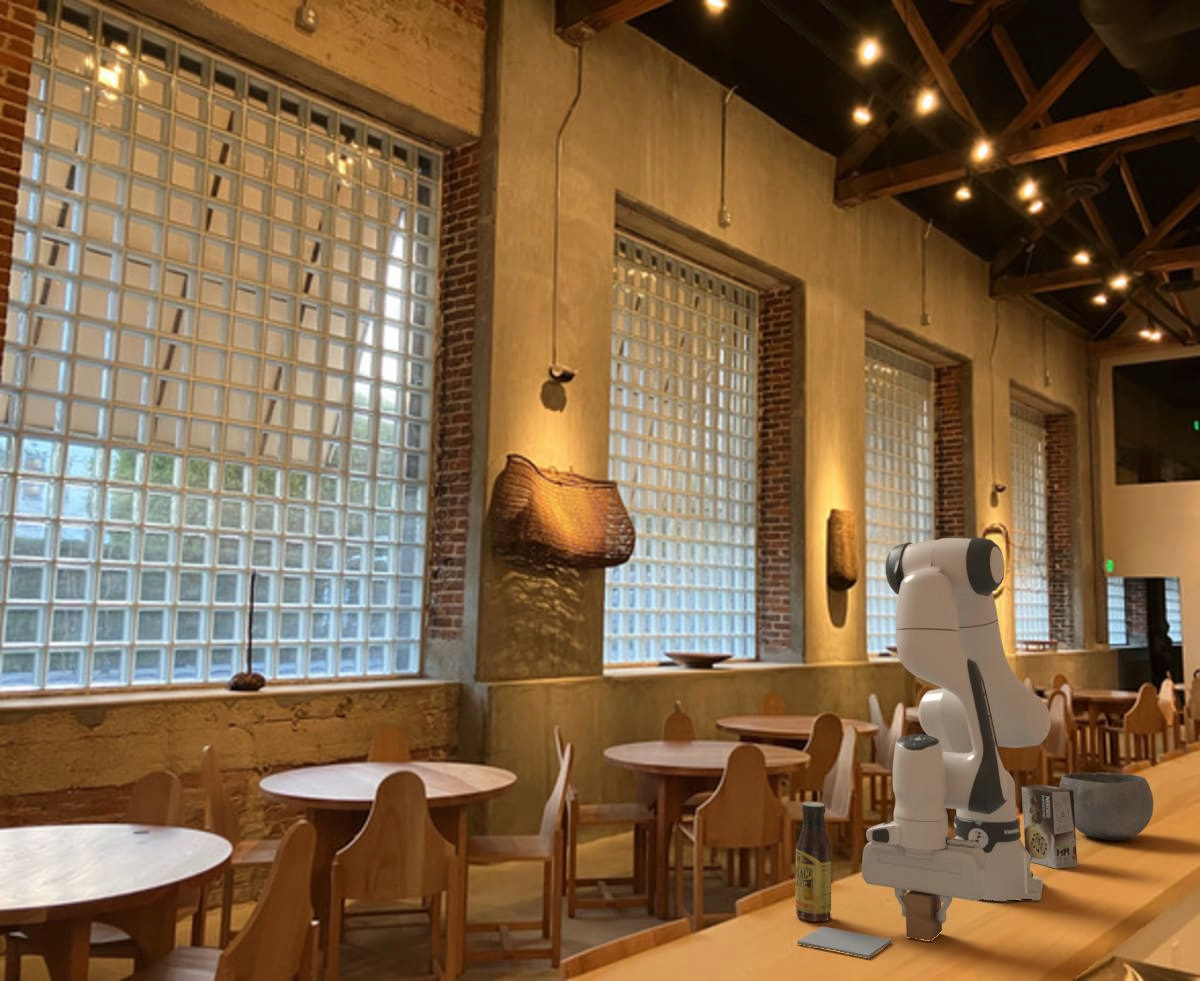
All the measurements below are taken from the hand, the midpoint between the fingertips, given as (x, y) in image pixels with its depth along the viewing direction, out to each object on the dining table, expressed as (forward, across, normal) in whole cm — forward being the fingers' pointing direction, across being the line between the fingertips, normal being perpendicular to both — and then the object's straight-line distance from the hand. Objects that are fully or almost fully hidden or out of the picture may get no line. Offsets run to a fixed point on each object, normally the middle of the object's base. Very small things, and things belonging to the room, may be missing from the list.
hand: (923, 919), depth 173 cm
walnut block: (+3, 0, 0) cm, 3 cm away
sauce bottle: (+3, +19, +2) cm, 19 cm away
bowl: (+3, -10, -104) cm, 104 cm away
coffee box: (+3, -5, -68) cm, 68 cm away
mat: (+3, +9, +12) cm, 15 cm away
